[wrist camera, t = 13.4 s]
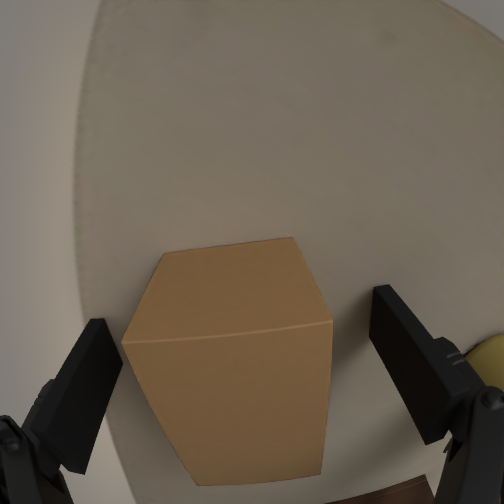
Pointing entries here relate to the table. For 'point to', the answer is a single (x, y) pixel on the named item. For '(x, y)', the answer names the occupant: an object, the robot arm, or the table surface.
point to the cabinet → (397, 494)
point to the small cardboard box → (236, 361)
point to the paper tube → (489, 363)
